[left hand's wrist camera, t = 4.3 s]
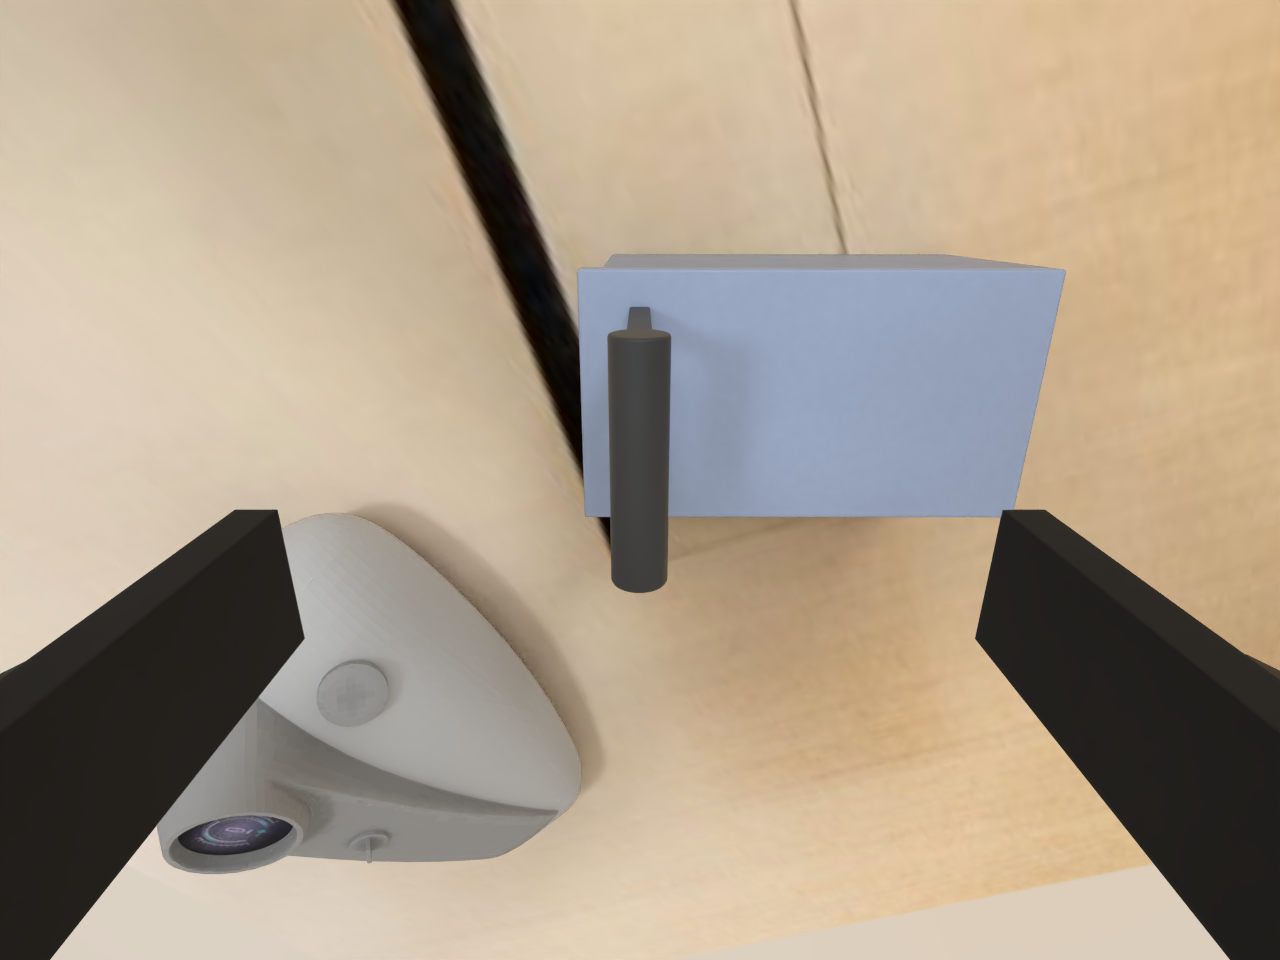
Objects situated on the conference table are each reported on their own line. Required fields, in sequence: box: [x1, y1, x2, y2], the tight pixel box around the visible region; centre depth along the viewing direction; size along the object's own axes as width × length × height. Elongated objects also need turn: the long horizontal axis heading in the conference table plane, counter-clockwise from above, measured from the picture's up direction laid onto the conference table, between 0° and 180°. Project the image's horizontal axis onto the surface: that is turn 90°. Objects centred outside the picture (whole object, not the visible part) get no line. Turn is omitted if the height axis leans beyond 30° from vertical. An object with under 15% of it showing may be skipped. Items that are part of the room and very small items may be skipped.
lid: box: [577, 268, 1066, 593], centre depth 21 cm, size 16×9×8 cm, turn 90°
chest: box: [603, 255, 1048, 268], centre depth 29 cm, size 16×9×9 cm, turn 90°
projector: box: [157, 513, 582, 874], centre depth 33 cm, size 22×23×15 cm
